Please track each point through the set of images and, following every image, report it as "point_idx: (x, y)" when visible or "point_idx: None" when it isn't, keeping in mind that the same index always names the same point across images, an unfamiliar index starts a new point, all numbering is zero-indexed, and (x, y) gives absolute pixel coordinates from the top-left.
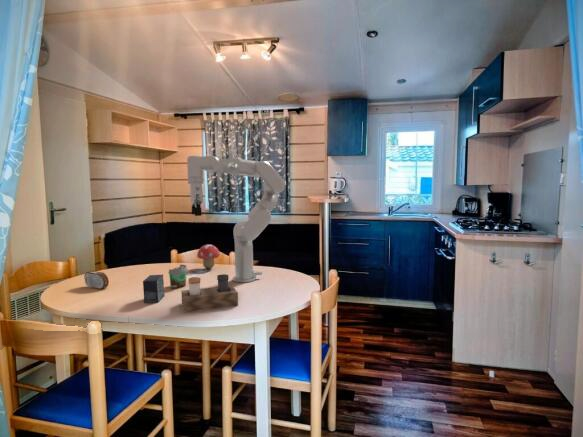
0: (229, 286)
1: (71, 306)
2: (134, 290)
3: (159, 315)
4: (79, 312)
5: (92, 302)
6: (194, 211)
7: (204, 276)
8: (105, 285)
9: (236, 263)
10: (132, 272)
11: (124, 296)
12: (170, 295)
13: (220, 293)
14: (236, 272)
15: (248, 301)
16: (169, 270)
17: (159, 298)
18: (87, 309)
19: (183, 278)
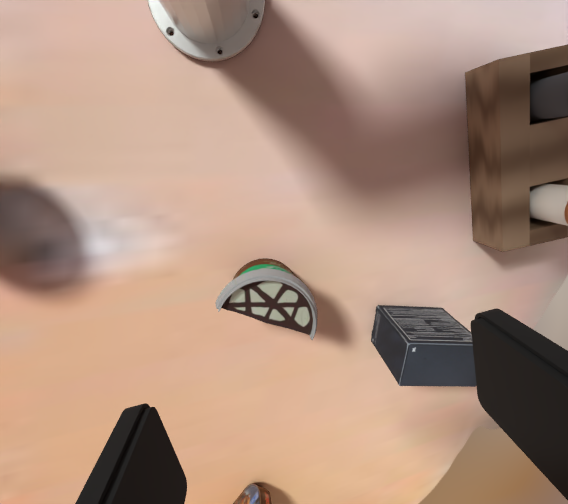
0: (514, 70)
1: (399, 494)
2: (291, 403)
3: (542, 284)
4: (450, 462)
5: (381, 465)
6: (161, 498)
7: (127, 198)
8: (265, 490)
9: (224, 5)
10: (41, 476)
11: (348, 411)
12: (373, 288)
13: None
14: (225, 27)
15: (522, 8)
16: (312, 336)
17: (435, 311)
18: (434, 455)
19: (287, 272)
